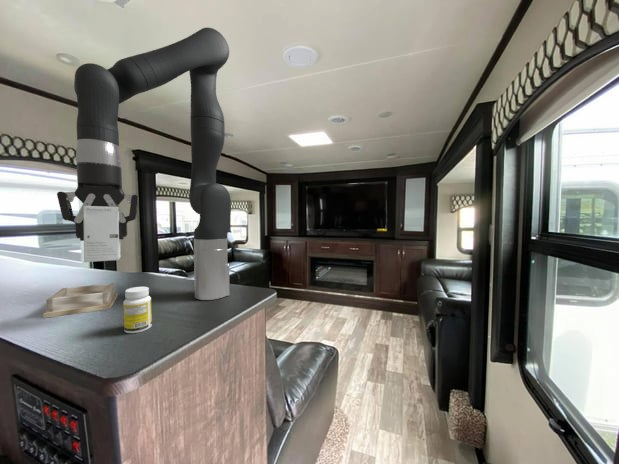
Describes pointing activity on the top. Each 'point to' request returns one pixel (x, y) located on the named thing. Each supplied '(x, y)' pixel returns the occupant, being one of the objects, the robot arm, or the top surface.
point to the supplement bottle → (137, 310)
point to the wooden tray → (80, 300)
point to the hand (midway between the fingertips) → (103, 239)
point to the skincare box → (101, 233)
